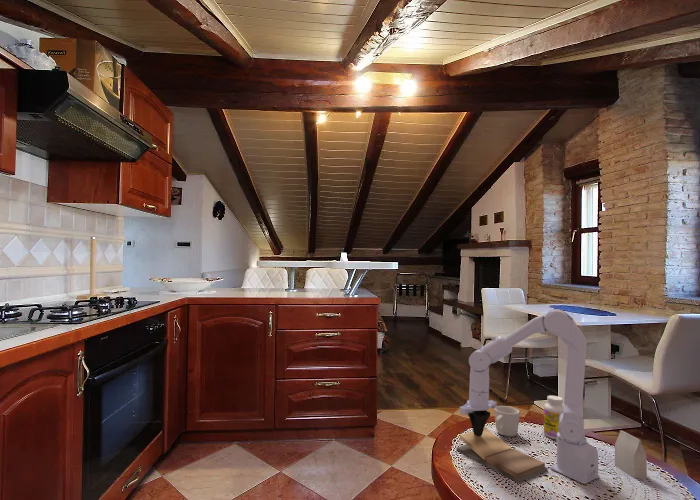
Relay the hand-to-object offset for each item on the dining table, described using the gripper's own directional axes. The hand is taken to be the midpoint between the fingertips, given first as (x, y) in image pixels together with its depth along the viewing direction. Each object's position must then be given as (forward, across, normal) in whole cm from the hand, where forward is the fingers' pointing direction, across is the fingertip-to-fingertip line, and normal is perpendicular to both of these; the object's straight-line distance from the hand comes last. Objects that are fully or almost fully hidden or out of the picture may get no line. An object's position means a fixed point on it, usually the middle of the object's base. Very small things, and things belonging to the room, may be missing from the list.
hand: (477, 434), depth 120 cm
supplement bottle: (+4, -31, +6) cm, 32 cm away
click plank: (+2, 0, +3) cm, 3 cm away
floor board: (+4, 0, +8) cm, 9 cm away
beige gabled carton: (+4, -27, +30) cm, 41 cm away
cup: (+4, -17, -3) cm, 18 cm away
